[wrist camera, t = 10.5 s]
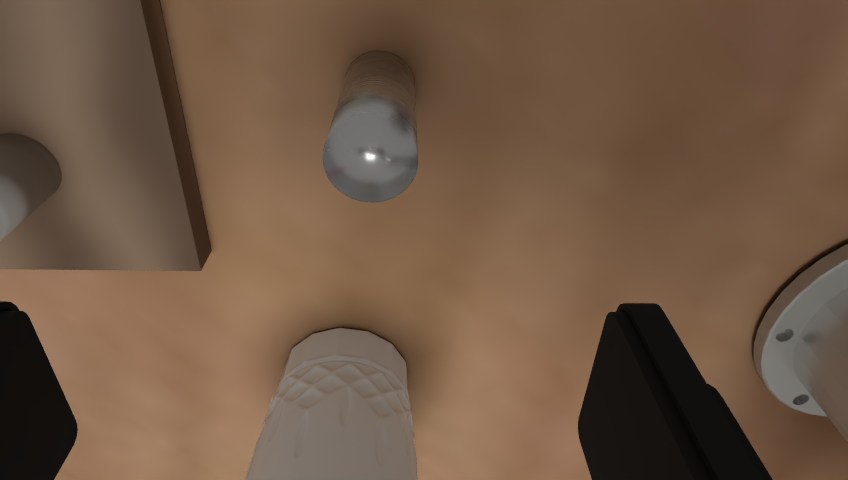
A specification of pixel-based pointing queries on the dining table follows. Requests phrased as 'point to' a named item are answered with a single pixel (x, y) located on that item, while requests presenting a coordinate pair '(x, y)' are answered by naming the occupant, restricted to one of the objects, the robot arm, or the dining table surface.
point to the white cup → (338, 413)
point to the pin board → (94, 141)
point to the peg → (373, 130)
